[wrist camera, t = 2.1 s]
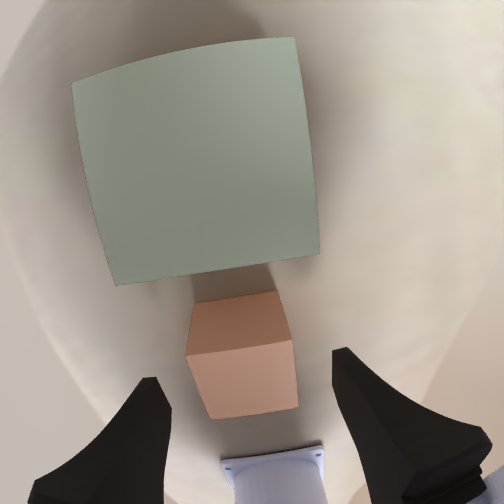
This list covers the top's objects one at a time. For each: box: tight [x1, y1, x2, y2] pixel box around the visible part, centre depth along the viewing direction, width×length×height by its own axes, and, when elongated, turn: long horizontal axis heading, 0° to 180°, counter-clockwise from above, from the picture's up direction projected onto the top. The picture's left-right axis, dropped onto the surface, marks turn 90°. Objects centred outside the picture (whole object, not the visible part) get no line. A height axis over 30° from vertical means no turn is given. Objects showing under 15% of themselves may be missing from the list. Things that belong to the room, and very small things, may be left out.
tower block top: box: [71, 37, 320, 286], centre depth 8 cm, size 6×6×3 cm
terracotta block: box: [185, 290, 299, 420], centre depth 14 cm, size 4×4×4 cm
